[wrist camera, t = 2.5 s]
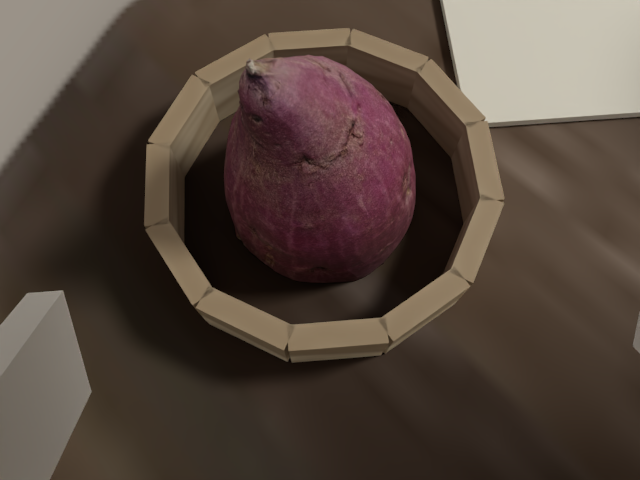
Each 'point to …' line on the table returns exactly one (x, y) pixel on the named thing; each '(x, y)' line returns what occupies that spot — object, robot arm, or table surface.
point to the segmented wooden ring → (396, 86)
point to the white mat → (546, 58)
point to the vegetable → (317, 170)
